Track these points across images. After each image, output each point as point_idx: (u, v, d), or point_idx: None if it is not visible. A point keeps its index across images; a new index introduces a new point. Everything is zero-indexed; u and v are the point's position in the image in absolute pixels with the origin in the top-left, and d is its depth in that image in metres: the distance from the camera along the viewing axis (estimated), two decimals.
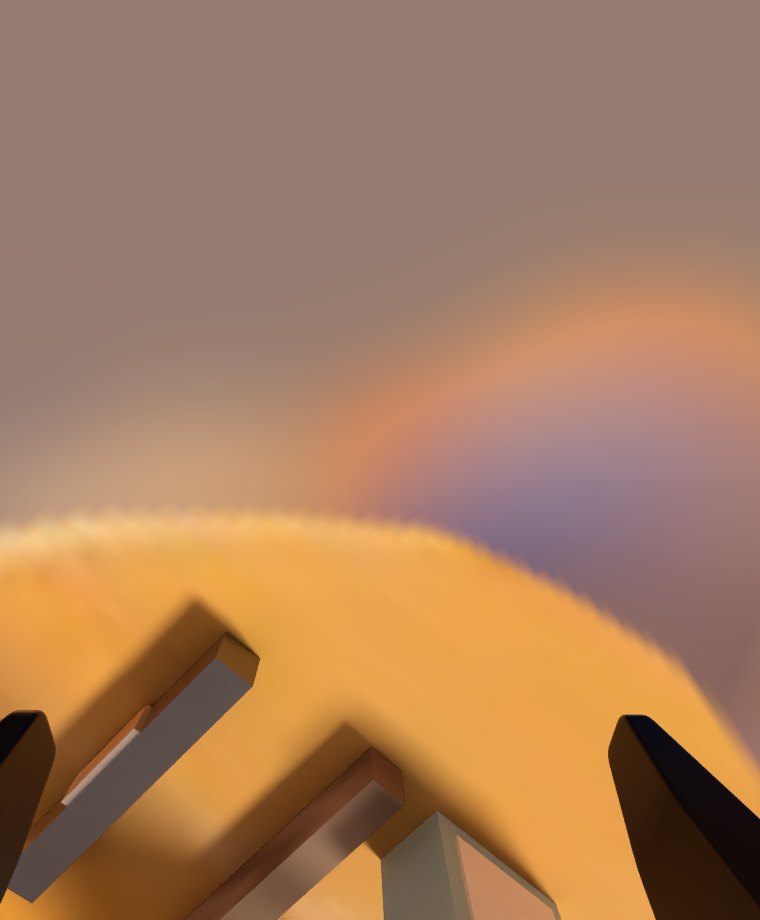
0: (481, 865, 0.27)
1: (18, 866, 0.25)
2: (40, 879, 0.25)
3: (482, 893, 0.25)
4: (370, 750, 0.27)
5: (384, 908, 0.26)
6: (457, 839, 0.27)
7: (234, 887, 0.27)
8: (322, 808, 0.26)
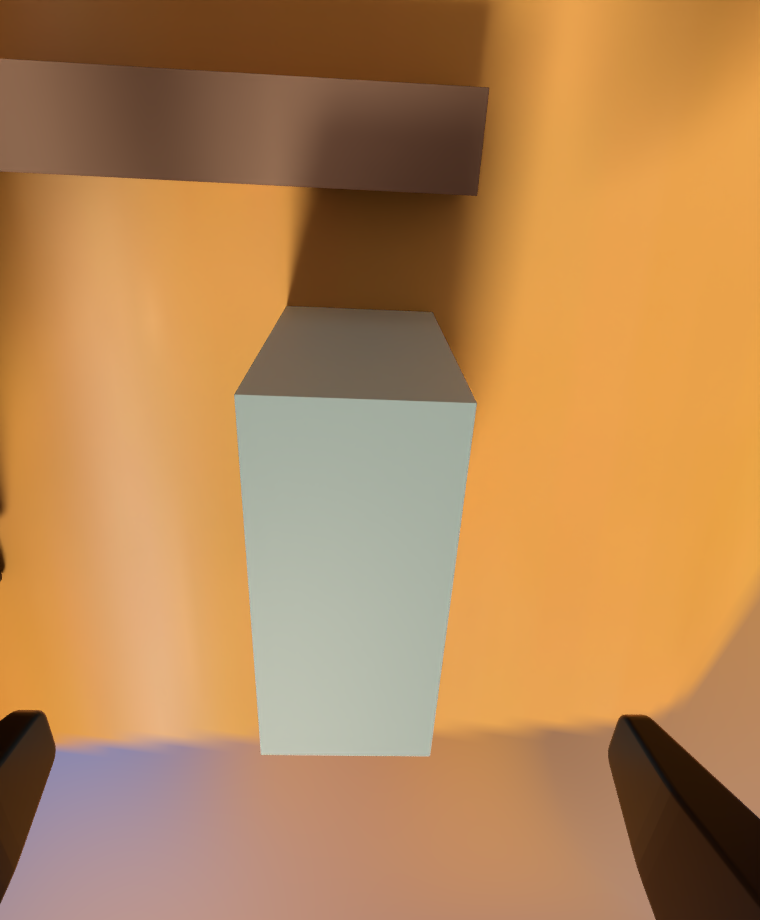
0: None
1: None
2: None
3: None
4: None
5: (276, 328, 0.13)
6: None
7: None
8: None
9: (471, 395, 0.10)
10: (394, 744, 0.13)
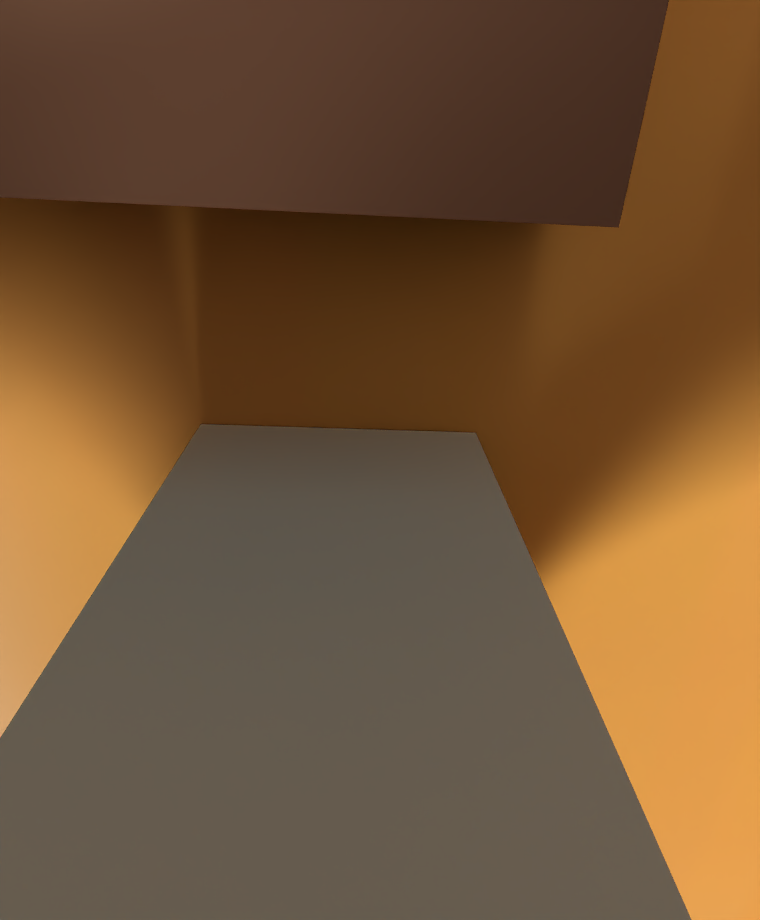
0: None
1: None
2: None
3: None
4: None
5: (144, 523, 0.06)
6: None
7: None
8: None
9: None
10: None
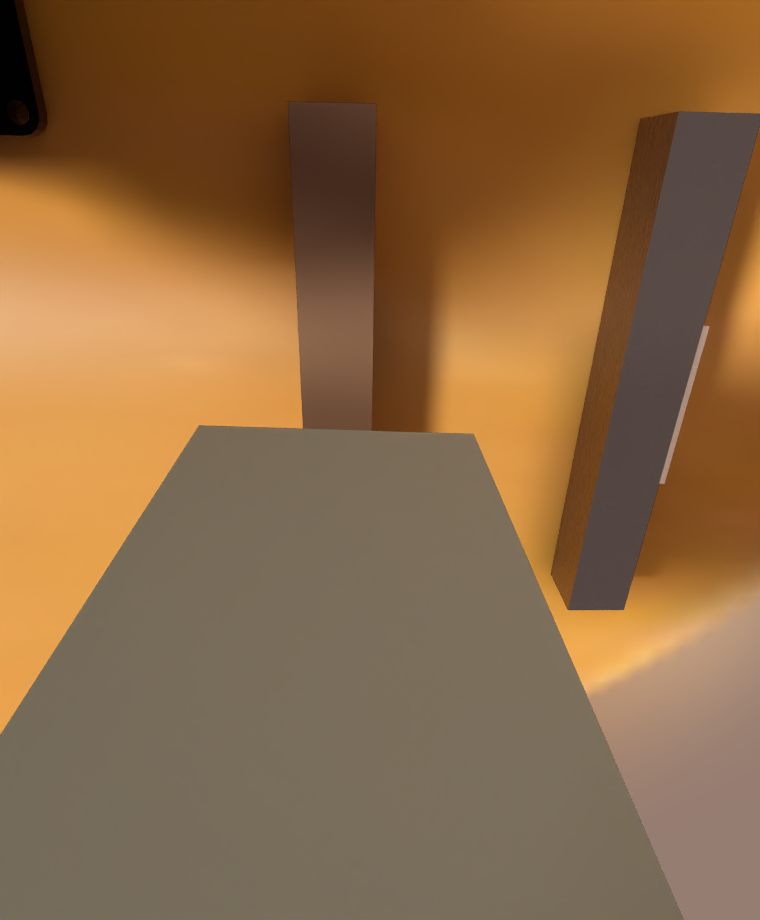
0: None
1: (733, 174, 0.14)
2: (685, 176, 0.14)
3: None
4: None
5: (141, 524, 0.06)
6: None
7: None
8: None
9: None
10: None
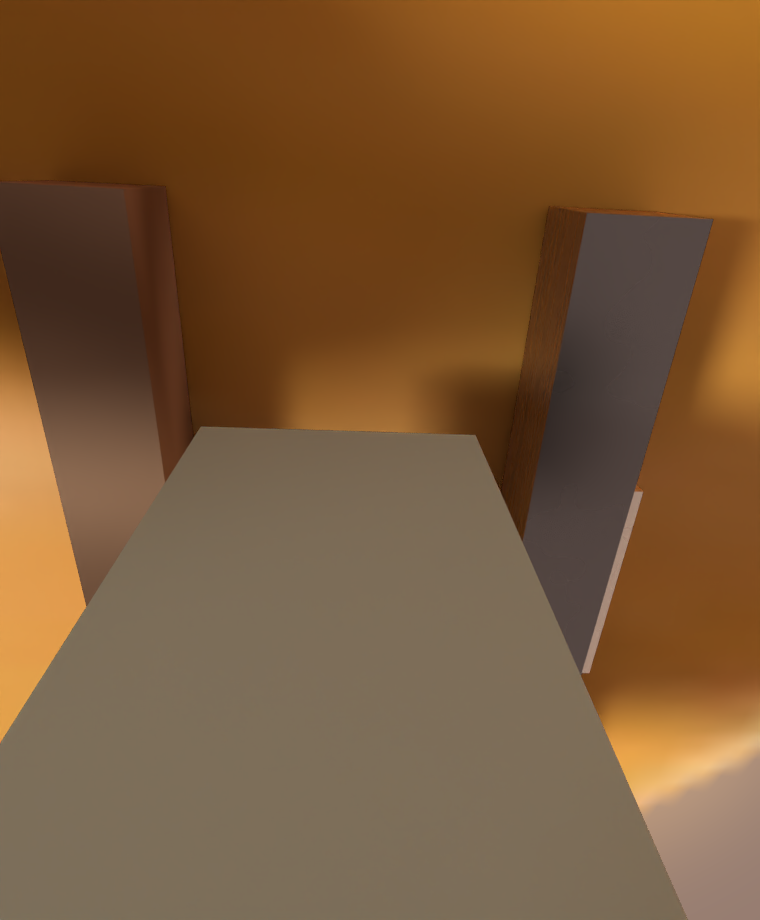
0: None
1: (670, 301, 0.09)
2: (600, 302, 0.09)
3: None
4: None
5: (144, 526, 0.06)
6: None
7: None
8: None
9: None
10: None
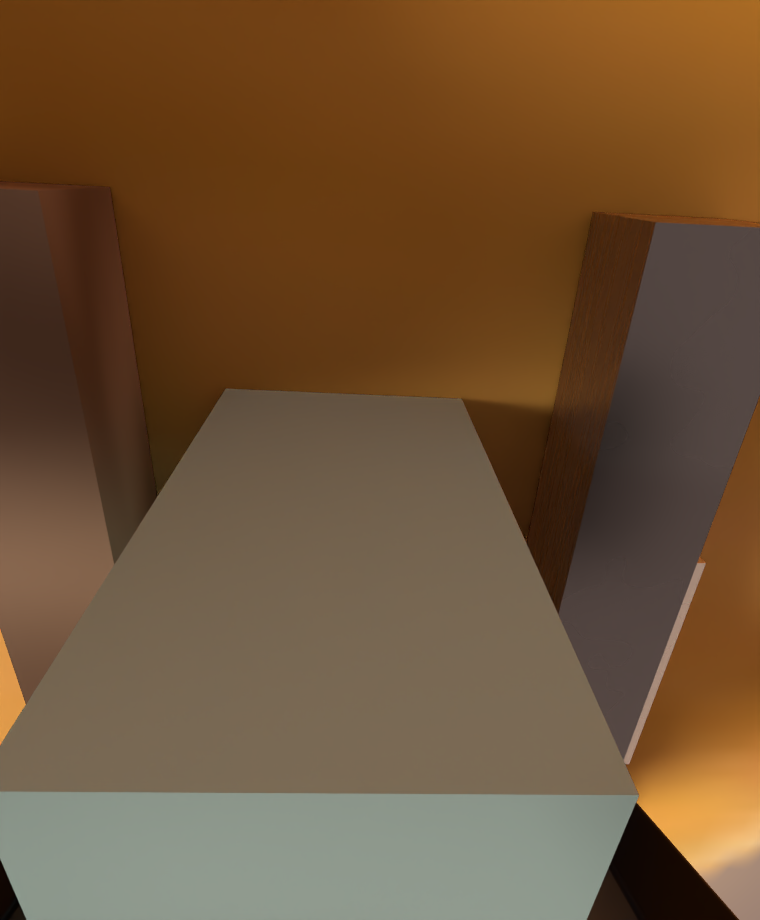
0: None
1: (756, 336, 0.07)
2: (667, 337, 0.07)
3: None
4: None
5: (188, 455, 0.07)
6: None
7: None
8: None
9: (610, 740, 0.04)
10: None
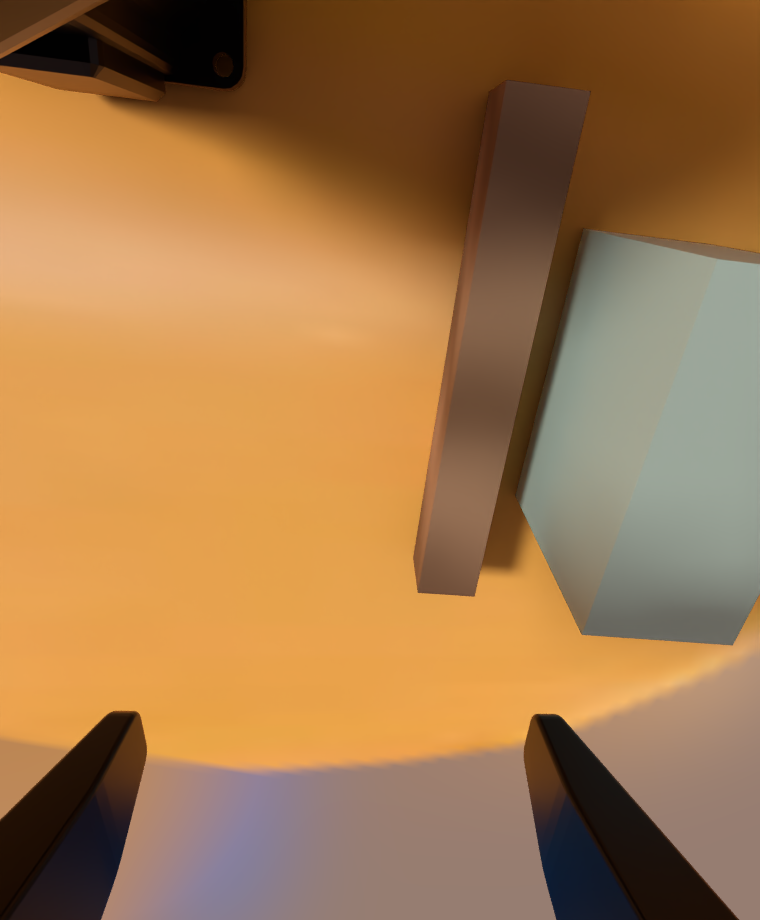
0: None
1: None
2: None
3: None
4: None
5: (620, 237, 0.14)
6: None
7: None
8: None
9: None
10: (706, 630, 0.14)
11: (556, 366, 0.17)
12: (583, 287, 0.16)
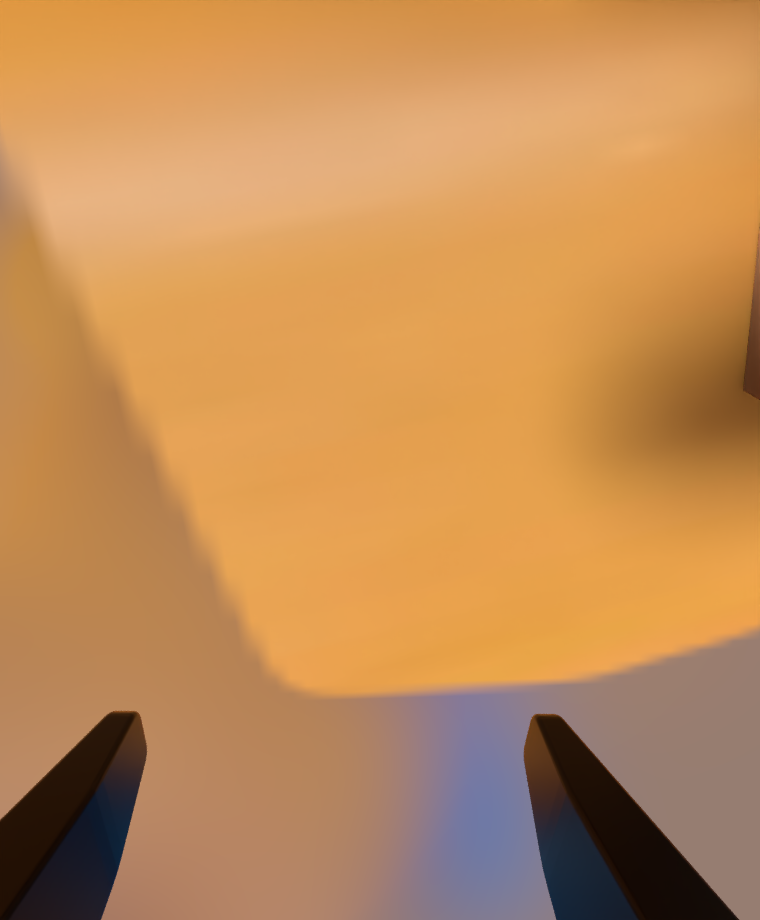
0: None
1: None
2: None
3: None
4: None
5: None
6: None
7: None
8: None
9: None
10: None
11: None
12: None
